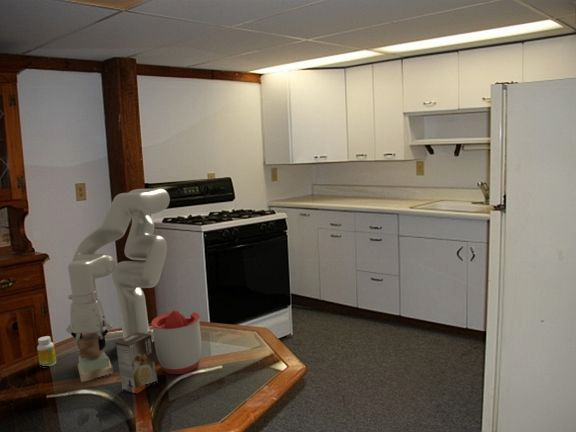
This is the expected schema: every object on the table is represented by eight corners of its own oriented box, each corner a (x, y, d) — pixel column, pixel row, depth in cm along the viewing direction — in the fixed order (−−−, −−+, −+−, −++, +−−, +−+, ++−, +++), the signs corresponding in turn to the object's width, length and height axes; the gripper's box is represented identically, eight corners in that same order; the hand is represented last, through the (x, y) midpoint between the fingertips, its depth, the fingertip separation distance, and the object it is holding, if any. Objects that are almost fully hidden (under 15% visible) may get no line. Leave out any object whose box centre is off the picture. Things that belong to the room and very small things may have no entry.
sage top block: (103, 358, 188) (102, 349, 187) (109, 366, 181) (108, 357, 180) (79, 364, 184) (78, 356, 183) (84, 373, 177) (83, 364, 176)
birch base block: (109, 364, 189) (108, 356, 189) (113, 375, 180) (112, 367, 180) (78, 372, 185) (77, 363, 185) (81, 383, 176) (80, 375, 176)
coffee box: (143, 378, 176) (137, 331, 173) (158, 381, 172) (152, 334, 169) (121, 391, 168) (115, 342, 165) (136, 395, 165) (129, 345, 162)
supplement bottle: (50, 367, 188) (46, 341, 187) (36, 367, 190) (32, 341, 188) (59, 361, 194) (55, 335, 192) (46, 360, 195) (42, 335, 193)
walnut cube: (80, 358, 178) (78, 341, 177) (87, 350, 184) (85, 333, 183) (98, 357, 178) (96, 339, 177) (105, 349, 184) (102, 332, 183)
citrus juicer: (214, 356, 188) (209, 301, 184) (190, 380, 172) (183, 320, 168) (175, 353, 193) (169, 299, 189) (147, 376, 177) (140, 317, 173)
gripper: (54, 303, 174) (62, 355, 178) (107, 299, 174) (114, 352, 177) (63, 295, 182) (71, 346, 185) (114, 292, 181) (121, 343, 184)
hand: (92, 348), depth 181 cm, fingers closed on walnut cube, 5 cm apart
